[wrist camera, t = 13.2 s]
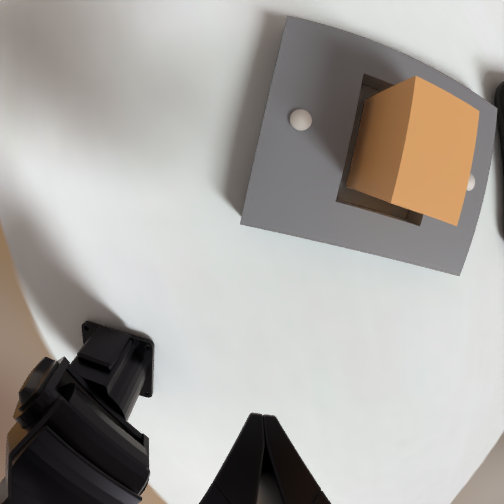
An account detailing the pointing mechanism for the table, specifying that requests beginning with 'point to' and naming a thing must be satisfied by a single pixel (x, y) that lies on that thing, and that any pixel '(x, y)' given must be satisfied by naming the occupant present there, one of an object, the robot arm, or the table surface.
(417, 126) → the plug
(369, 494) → the table surface
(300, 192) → the socket board
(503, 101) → the carrying case or bag
